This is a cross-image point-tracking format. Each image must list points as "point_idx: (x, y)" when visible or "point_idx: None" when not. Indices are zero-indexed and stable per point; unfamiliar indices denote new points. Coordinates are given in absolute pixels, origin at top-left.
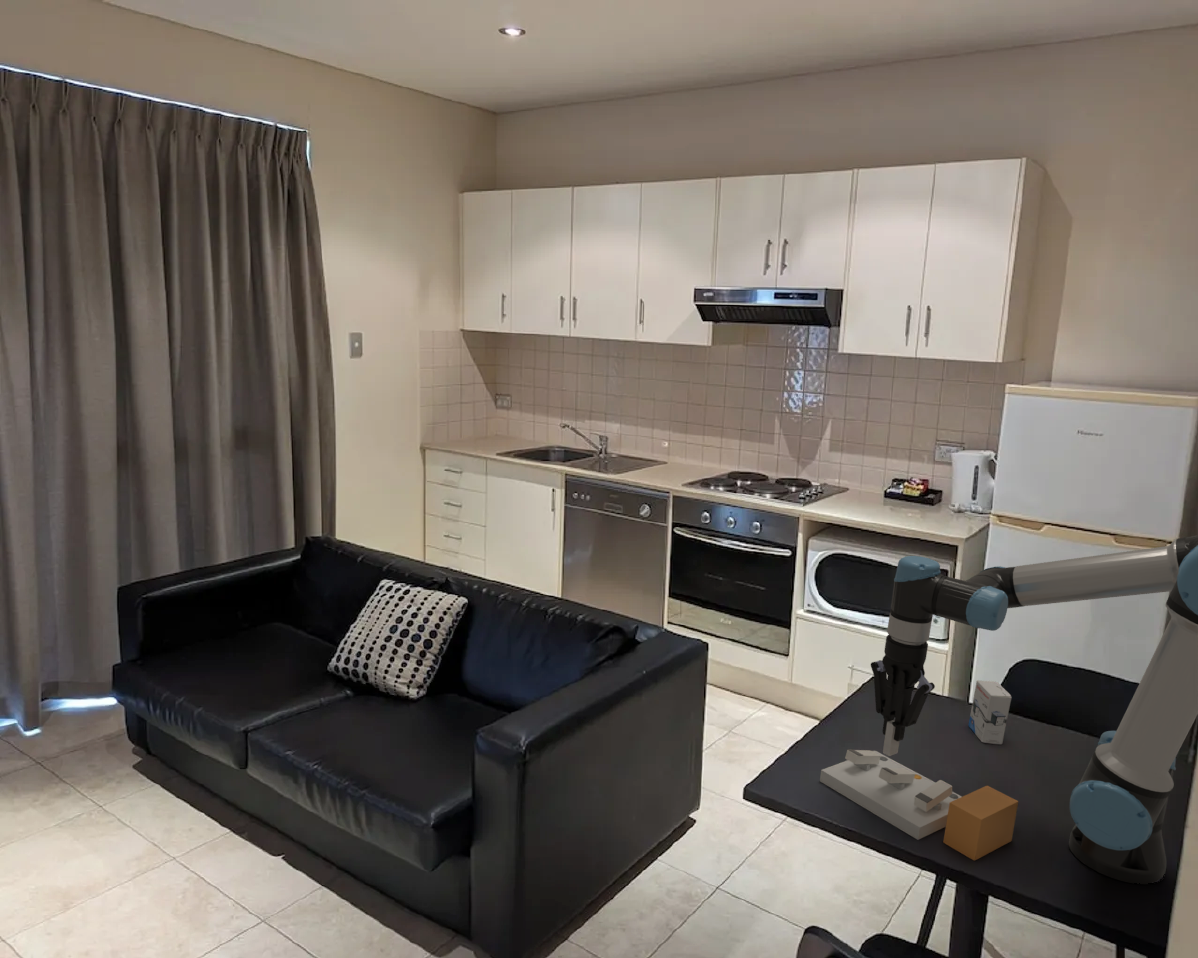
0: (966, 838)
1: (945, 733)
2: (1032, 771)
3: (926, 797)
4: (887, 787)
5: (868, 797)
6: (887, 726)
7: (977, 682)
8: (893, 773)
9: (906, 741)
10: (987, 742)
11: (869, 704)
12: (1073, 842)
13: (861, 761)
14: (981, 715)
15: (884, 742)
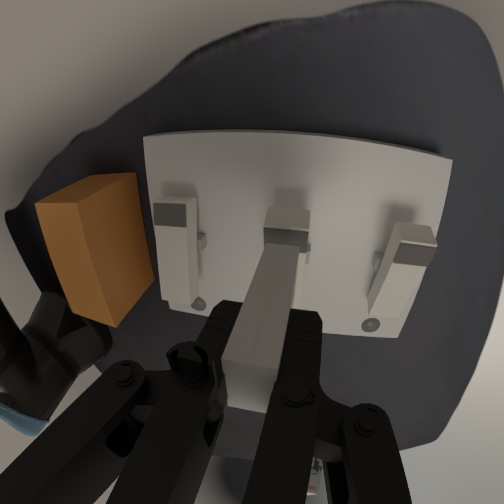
0: (83, 183)
1: None
2: (224, 415)
3: (164, 219)
4: None
5: (293, 134)
6: (276, 342)
7: (315, 492)
8: (264, 231)
9: (371, 394)
10: None
11: (438, 415)
12: None
13: (390, 248)
14: None
15: (292, 273)
